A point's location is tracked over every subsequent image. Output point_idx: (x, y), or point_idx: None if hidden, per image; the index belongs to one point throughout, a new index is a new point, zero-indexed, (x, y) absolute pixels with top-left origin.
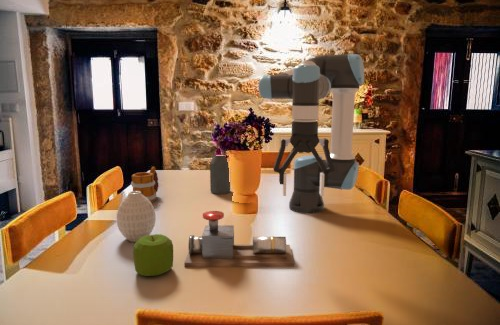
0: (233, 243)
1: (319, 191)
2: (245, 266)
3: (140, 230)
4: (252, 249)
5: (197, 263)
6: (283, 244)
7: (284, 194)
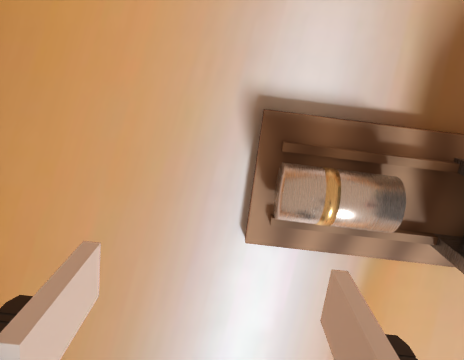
0: (444, 241)
1: (93, 302)
2: (414, 128)
3: None
4: None
5: None
6: (294, 170)
7: (344, 276)
